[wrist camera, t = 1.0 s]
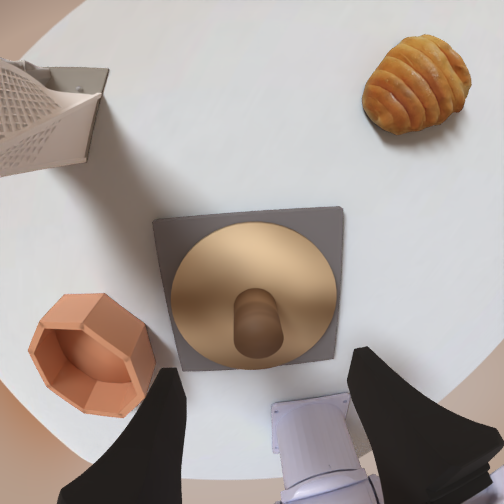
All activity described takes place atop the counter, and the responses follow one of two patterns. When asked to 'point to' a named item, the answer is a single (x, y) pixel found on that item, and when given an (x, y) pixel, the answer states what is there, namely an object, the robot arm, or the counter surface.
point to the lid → (253, 295)
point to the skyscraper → (46, 115)
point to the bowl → (93, 354)
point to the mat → (197, 227)
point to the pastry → (416, 85)
